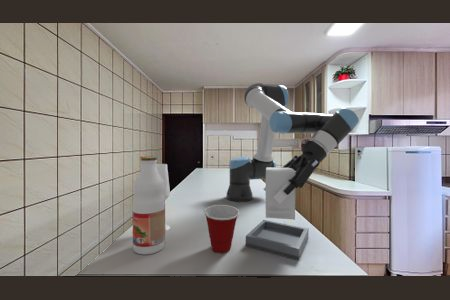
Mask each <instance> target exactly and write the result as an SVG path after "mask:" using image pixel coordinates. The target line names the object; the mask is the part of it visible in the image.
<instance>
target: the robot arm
mask: <svg viewBox="0 0 450 300" xmlns="http://www.w3.org/2000/svg"><path fill="white" fill-rule="evenodd" d="M289 98H290V96H289V91H288V88H287V87H286V86H285V85H281V84H276V83H275V84H272V83H262V82H257V83H252V84H251V85H249V86H248V87H247V88H246V89H245V90H244V94H243V100H244V102H245V104H246V105H247V106H248V107H249V108H252V109H255V110H256V111H257V112H258V113H260V114H261V119H260V120H261V121H260V127H259V133H258V141H257V146H256V147H257V148H256V153H255V154H254V155H253V156H252V157H253V159H251V158H250V157H247V156H245V157H236V158H233V159H230V161H229V167H228V169H229V185H228V189H227V191H226V199H227V200H228V201H233V202H248V201H251V200H253V199H254V196H253V191H252V188H251V185H250V183H251V182H250V181H251V180H266V168H267V167H273V168H277V163H276V161H275V160H274V157H273V147H274V142H275V137H276V136H275V135H276V133H277V134H308V135H309V134H311V135H312V136H311V137H310V138H309V140H308V141H306V142H305V143H304V144H303V145H302V147H301V148H300V149H301V152H302V154H301V155H299V156H297V154H296V155H294V156H293V157H292V158H291V160H289V161H288V162H287V163H285V165H284V166H282V167H281V168H292V169H293V170H295V176H294V177H293V178H292V179H290V180H288V181H289V182H290V183H291V184H290V183H289V182H287V183H286V184H285V185H284V186H283V187H282V188H281V189H280V190H279V191H278V192H277V193H276V195H275V196H274V197H273V198H274V199H275V200H276V201H277V202H278V203H279V204H281V202H282V201H283V200H284V199H285V198H286V197H287V196H288V195H289V194H290V193H291V192H292V191H293V190H294V189H295V190H296V189H298V188H300V189H302V188H303V187H304V185H305V184H306V182H307V181H308V180H309V178H310V177H311V176H312V175H313V172H314V171H315V170H316V169H317V168H318V167H319V166H320V163H322V162H323V161H324V160H325V158H326V157H328V155H329V154H330V153H331V152H334V151H335V150H334V149H335V148H336V147H337V146H338V145H339V144H341V142H342V141H343V140H344V139H345V138H346V137H348V135H349V134H351V132H352V131H353V130H354V129H355V128H356V126H357V125H358V124H359V123H360V122H359V117H358V114H357V113H356V112H354V110H351V109H349V108H347V107H341V108H339V109H338V110H337V111H335V112H334V114H329V113H327V114H326V113H318V112H301V111H299V112H298V111H297V112H296V111H291V110H290V109H288V108H286V107H287V106H288V104H289V100H290V99H289ZM263 191H265V192H266V186H264V188H263Z"/></svg>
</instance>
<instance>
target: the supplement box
mask: <svg viewBox="0 0 450 300" xmlns="http://www.w3.org/2000/svg"><path fill="white" fill-rule="evenodd" d="M295 172H296V171H295V170H293V169H292V168H282V167H276V168H273V167H267V168H266V179H265V187H266V191H265V218H267V219H281V220H296V188H295V189H294V190H293V191H292V192H291V193H290V194H289V195H288V196H287V197H286V198H285V199H284V200H283V201H282V202H281V204H279V203H278V202H277V201H276V200H275V199H274V198H273V197H274V196H275V195H276V193H277V192H278V191H279V190H280V189H281V188H282V187H283V186H284V185H285V184H286V183H287V182H289V181H288V180H290V179H292V178H293V177H294V176H295ZM289 183H290V182H289ZM290 184H291V183H290Z"/></svg>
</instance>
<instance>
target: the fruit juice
mask: <svg viewBox="0 0 450 300" xmlns="http://www.w3.org/2000/svg"><path fill="white" fill-rule="evenodd" d="M139 160H140V162H139V163H140V166H141V167H140V170H139V173H138V176H137V177H136V178H135V179H134V181H133V184H132V191H133V195H134V198H133V200H132V209H131V210H132V248H133V249H132V250H133V251H134V253H136V254H138V255H151V254H155V253H158V252H160V251H162V250H163V249H164V248H165V245H166V231H165V224H166V200H165V198H164V196H163V191H164V187H165V184H164V180H163V179H162V178H161V176H160V175H159V173H158V170H157V167H156V164H157V162H158V156H155V155H150V156H149V155H144V156H140V157H139Z"/></svg>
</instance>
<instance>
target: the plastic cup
mask: <svg viewBox="0 0 450 300" xmlns="http://www.w3.org/2000/svg"><path fill="white" fill-rule="evenodd" d="M203 214H204V216H205V218H206V223H207V230H208V236H209V240H210V245H211V250H212V251H213V252H214V253H217V254H223V253H224V254H225V253H228V252H229V251H230V250H231V248H232V244H233V237H234V232H235V227H236V222H237V219H238V217H239V215H240V210H239V209H238V208H236V207H234V206H232V205H228V204H213V205H209V206H207V207H205V208H204V209H203Z"/></svg>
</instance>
